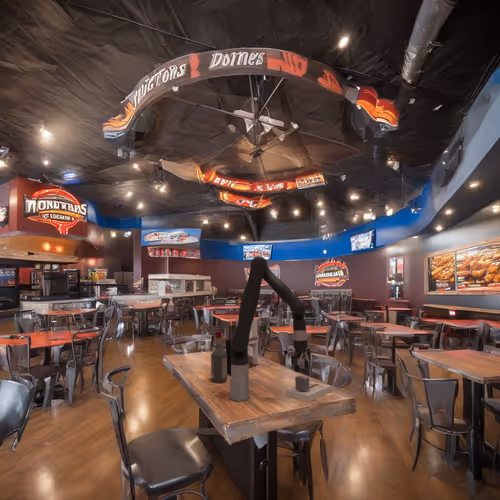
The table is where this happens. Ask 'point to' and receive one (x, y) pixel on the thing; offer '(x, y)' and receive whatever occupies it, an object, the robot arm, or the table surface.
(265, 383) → the table surface
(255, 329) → the display case
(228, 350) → the portable radio
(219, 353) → the liquor
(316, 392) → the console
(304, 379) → the fader knob
